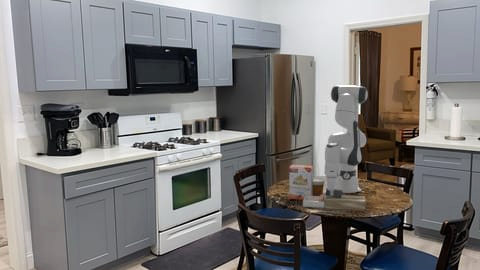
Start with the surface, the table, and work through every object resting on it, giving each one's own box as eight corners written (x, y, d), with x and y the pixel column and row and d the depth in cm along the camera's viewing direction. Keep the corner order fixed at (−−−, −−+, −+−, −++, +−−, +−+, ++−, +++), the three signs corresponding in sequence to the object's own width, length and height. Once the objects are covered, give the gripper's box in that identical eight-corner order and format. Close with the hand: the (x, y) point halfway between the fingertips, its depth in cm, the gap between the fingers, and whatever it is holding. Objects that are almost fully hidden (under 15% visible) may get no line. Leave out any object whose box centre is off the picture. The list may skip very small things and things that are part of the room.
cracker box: (289, 199, 249) (288, 166, 247) (292, 196, 255) (291, 164, 252) (311, 201, 243) (311, 167, 241) (313, 198, 249) (313, 165, 246)
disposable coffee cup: (316, 201, 242) (316, 182, 241) (305, 198, 250) (305, 179, 249) (327, 199, 247) (328, 180, 246) (317, 195, 255) (317, 177, 254)
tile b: (323, 204, 236) (319, 204, 236) (323, 196, 235) (319, 196, 236) (322, 206, 231) (318, 206, 232) (322, 198, 231) (318, 198, 231)
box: (305, 200, 245) (305, 195, 244) (325, 202, 242) (325, 196, 241) (303, 206, 233) (303, 200, 233) (324, 208, 230) (324, 202, 230)
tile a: (324, 201, 241) (320, 201, 241) (324, 194, 240) (320, 194, 241) (323, 203, 236) (319, 203, 237) (323, 196, 236) (320, 196, 236)
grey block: (324, 192, 241) (325, 185, 240) (341, 194, 238) (342, 188, 238) (322, 197, 230) (323, 190, 229) (341, 200, 227) (342, 193, 226)
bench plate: (326, 202, 241) (326, 194, 241) (364, 204, 235) (364, 196, 235) (325, 208, 230) (325, 199, 229) (365, 210, 224) (365, 202, 223)
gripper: (327, 167, 243) (327, 189, 245) (325, 174, 223) (325, 198, 225) (338, 167, 241) (338, 190, 243) (337, 175, 222) (336, 199, 223)
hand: (332, 194), depth 234 cm, fingers closed on grey block, 2 cm apart
